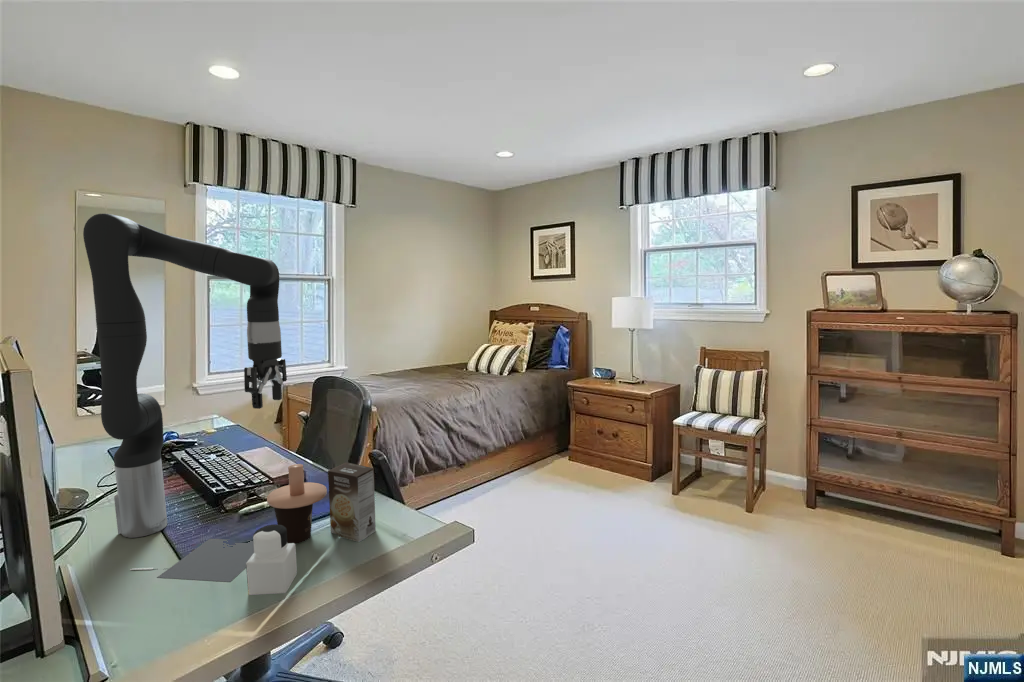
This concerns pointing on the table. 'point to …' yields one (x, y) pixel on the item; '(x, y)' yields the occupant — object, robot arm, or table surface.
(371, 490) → the coffee box
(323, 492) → the terracotta lid
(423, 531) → the table surface
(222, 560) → the mat
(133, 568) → the white screwdriver
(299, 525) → the coffee mug
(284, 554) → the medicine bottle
